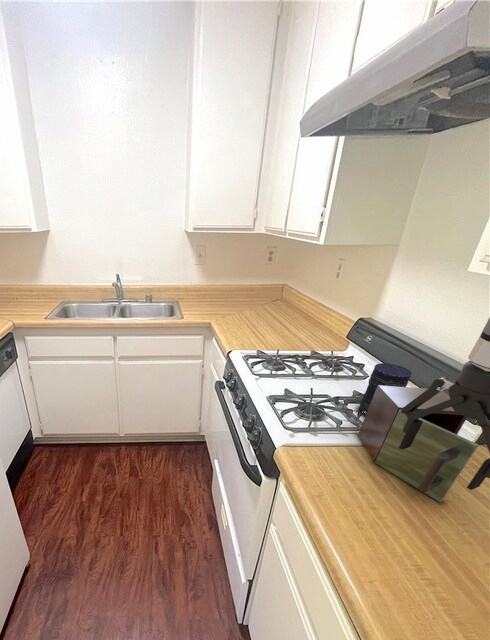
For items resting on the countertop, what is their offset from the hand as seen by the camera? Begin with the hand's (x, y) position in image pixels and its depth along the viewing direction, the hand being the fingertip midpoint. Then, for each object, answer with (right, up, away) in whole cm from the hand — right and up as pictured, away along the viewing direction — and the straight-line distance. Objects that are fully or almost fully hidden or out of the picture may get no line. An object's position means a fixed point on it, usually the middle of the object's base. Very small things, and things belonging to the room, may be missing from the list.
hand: (436, 465), depth 69 cm
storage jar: (+12, +13, +41) cm, 45 cm away
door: (+1, -6, +12) cm, 13 cm away
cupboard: (+8, +2, +24) cm, 26 cm away
